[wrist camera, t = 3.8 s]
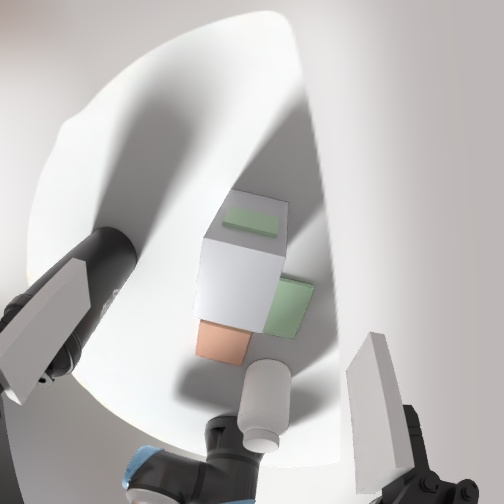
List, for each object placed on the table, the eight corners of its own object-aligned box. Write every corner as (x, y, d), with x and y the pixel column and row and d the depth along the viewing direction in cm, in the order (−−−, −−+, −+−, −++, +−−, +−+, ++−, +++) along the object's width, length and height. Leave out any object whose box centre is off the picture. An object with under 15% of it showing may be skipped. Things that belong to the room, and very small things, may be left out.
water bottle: (116, 290, 48) (42, 400, 28) (74, 243, 44) (-19, 339, 24) (155, 262, 44) (75, 387, 24) (108, 208, 40) (-3, 309, 21)
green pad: (293, 335, 48) (293, 339, 47) (230, 321, 48) (229, 325, 47) (314, 285, 43) (314, 288, 42) (242, 268, 43) (241, 271, 42)
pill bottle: (292, 358, 50) (289, 436, 37) (290, 386, 54) (285, 458, 41) (245, 356, 51) (230, 432, 38) (247, 384, 55) (235, 454, 42)
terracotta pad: (241, 363, 52) (241, 366, 51) (196, 351, 52) (195, 355, 51) (251, 331, 48) (250, 334, 47) (201, 319, 48) (199, 322, 47)
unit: (270, 267, 42) (260, 336, 31) (218, 255, 42) (192, 319, 31) (289, 199, 37) (287, 253, 26) (231, 185, 37) (204, 233, 26)
